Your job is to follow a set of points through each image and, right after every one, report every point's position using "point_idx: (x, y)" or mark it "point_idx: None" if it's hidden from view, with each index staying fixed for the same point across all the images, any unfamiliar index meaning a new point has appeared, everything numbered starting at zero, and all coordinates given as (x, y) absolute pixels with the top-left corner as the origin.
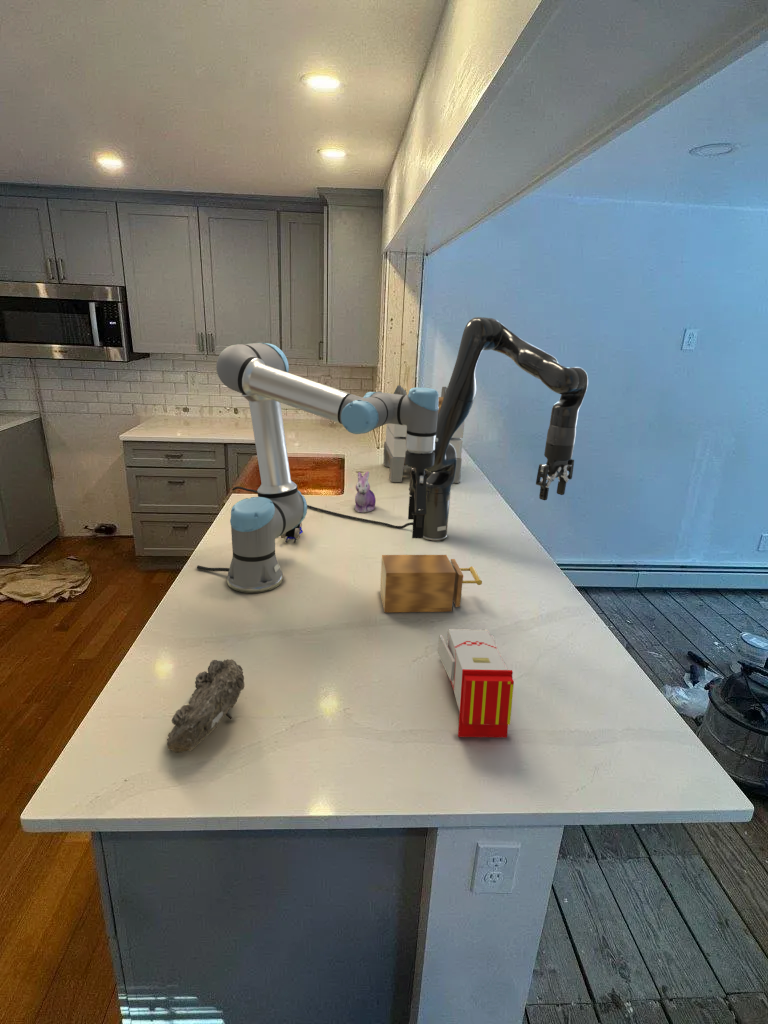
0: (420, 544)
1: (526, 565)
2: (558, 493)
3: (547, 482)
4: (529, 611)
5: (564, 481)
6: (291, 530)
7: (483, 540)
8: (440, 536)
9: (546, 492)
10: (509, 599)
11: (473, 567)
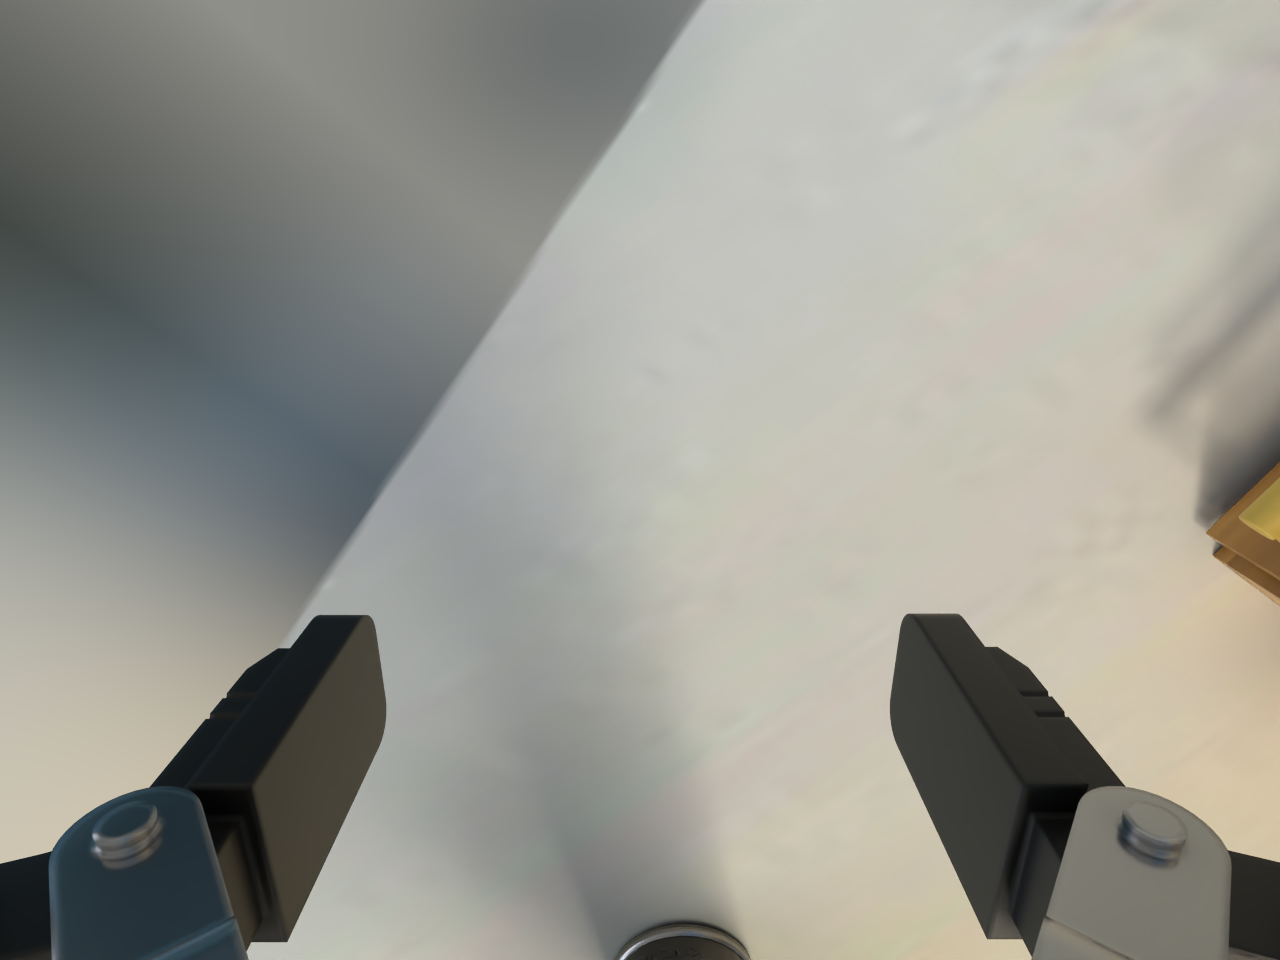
0: (816, 942)
1: (550, 500)
2: (378, 696)
3: (1214, 947)
4: (1090, 99)
5: (211, 846)
6: None
7: (490, 825)
8: (703, 948)
9: (1023, 714)
10: (1034, 279)
11: (1274, 520)
